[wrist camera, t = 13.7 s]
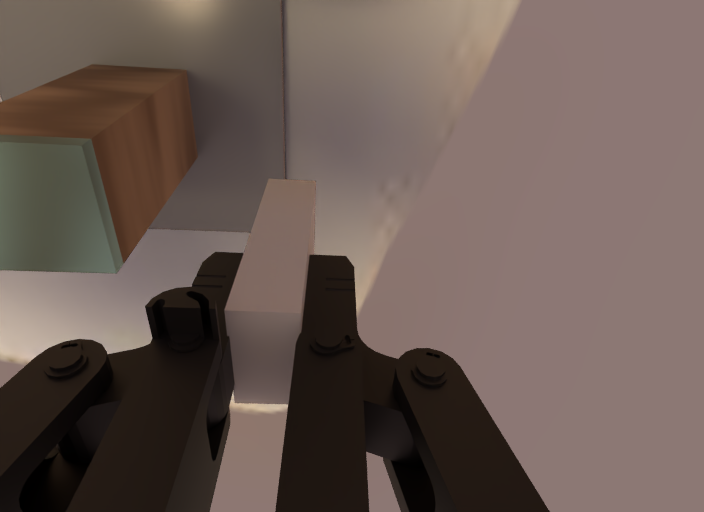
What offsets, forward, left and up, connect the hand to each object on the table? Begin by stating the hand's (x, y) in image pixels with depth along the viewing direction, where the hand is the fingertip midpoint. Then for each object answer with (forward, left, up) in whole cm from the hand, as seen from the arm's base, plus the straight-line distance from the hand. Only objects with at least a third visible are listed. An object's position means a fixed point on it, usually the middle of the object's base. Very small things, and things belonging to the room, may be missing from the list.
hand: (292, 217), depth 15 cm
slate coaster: (-8, 0, -11) cm, 14 cm away
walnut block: (-8, 0, -11) cm, 13 cm away
